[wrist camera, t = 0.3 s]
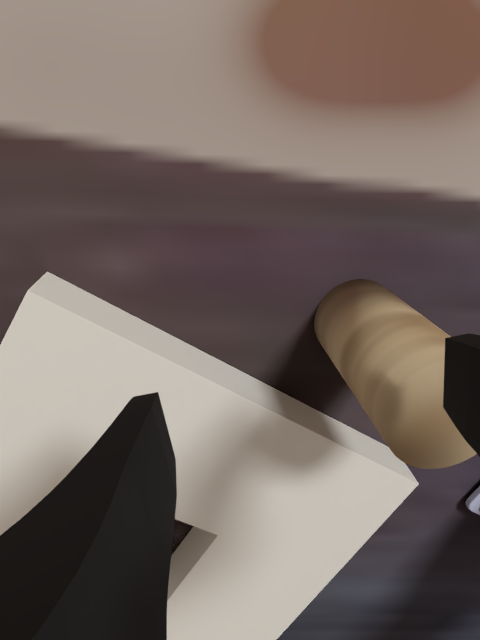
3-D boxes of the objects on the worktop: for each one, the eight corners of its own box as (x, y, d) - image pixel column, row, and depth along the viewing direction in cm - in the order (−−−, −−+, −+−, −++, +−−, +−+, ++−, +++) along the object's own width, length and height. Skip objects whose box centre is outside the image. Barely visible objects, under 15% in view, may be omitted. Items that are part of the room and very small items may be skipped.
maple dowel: (412, 305, 21) (534, 395, 14) (361, 370, 22) (449, 485, 15) (348, 263, 20) (444, 336, 12) (297, 333, 21) (358, 439, 14)
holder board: (396, 451, 24) (419, 483, 22) (209, 666, 30) (210, 710, 27) (47, 271, 18) (27, 290, 16) (-110, 580, 24) (-142, 627, 21)
